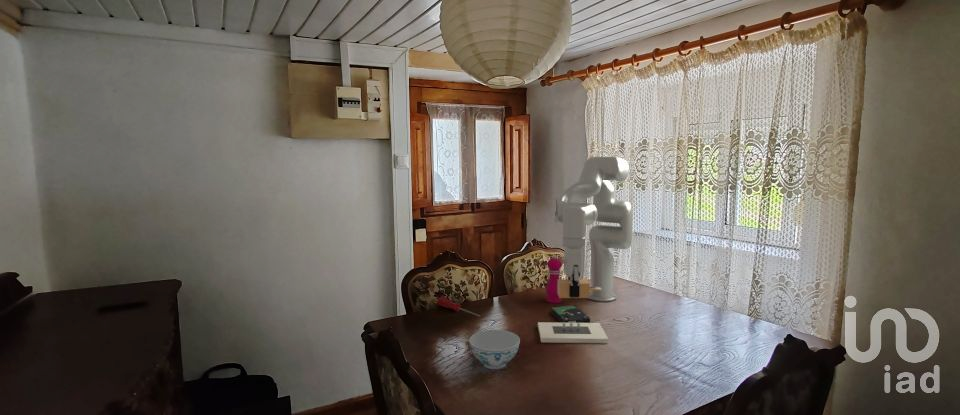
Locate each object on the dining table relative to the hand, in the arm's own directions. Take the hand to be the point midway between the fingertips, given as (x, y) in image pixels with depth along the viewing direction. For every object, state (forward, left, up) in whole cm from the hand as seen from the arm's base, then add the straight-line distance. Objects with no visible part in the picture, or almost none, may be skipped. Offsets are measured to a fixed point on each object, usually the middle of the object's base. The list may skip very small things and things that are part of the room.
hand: (573, 293), depth 153 cm
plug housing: (0, +2, -1) cm, 2 cm away
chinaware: (+23, -26, -15) cm, 38 cm away
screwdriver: (-21, -42, -15) cm, 49 cm away
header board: (0, 0, -15) cm, 15 cm away
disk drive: (-16, +1, -15) cm, 22 cm away
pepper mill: (-36, -2, -15) cm, 39 cm away
